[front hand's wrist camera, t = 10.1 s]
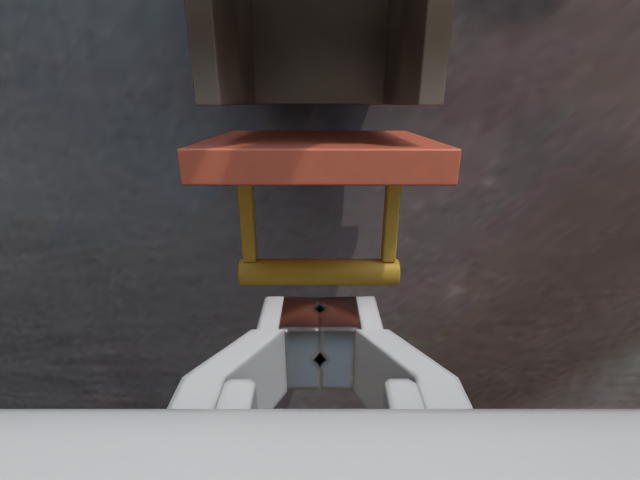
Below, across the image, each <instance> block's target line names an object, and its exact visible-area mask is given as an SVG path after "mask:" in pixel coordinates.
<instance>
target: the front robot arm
mask: <svg viewBox="0 0 640 480" xmlns="http://www.w3.org/2000/svg"><path fill="white" fill-rule="evenodd" d="M305 389H334V390H353V392H354V393H355V395H356V396H357V397H358V398H359V400H360V401H361V402H362V403H363V405H364V406H365V407H366V408H367V409H274V407H275V406H276V405H277V404H278V402H279V401H280V400H281V399H282V397H283V396H284V395H285V394H286V392H287V390H305ZM0 480H640V409H473V407H472V405H471V403H470V401H469V399H468V397H467V395H466V393H465V391H464V389H463V386H462V384H461V382H460V380H459V378H458V377H457V376H455V375H454V374H452V373H451V372H449V371H448V370H447V369H445V368H444V367H442V366H441V365H439V364H438V363H436V362H435V361H434V360H432V359H431V358H429V357H428V356H426V355H425V354H423V353H422V352H421V351H419V350H418V349H416V348H415V347H413V346H412V345H410V344H409V343H408V342H406V341H405V340H403V339H402V338H400V337H399V336H397V335H396V334H395V333H393V332H392V331H390V330H389V329H383V326H382V322H381V318H380V315H379V311H378V307H377V304H376V300H375V297H374V296H362V297H284V296H267V297H266V298H265V300H264V303H263V307H262V311H261V314H260V318H259V322H258V326H257V329H251V330H250V331H248V332H247V333H245V334H244V335H243V336H241V337H240V338H238V339H237V340H235V341H234V342H232V343H231V344H230V345H228V346H227V347H225V348H224V349H222V350H221V351H219V352H218V353H216V354H215V355H214V356H212V357H211V358H209V359H208V360H206V361H205V362H203V363H202V364H200V365H199V366H198V367H196V368H195V369H193V370H192V371H190V372H189V373H187V374H186V375H185V376H183V377H182V379H181V381H180V383H179V385H178V387H177V389H176V391H175V393H174V395H173V397H172V399H171V401H170V403H169V405H168V407H167V409H0Z"/></svg>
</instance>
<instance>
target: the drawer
mask: <svg viewBox="0 0 640 480" xmlns="http://www.w3.org/2000/svg"><path fill="white" fill-rule="evenodd" d="M184 2H185V11H186V20H187V30H188V39H189V48H190V57H191V67H192V76H193V85H194V95H195V104H196V105H210V106H220V105H249V104H382V105H410V106H442V105H443V102H444V93H445V84H446V75H447V66H448V57H449V47H450V38H451V29H452V20H453V11H454V2H455V0H184ZM177 154H178V161H179V169H180V177H181V183H182V185H237V190H238V203H239V216H240V229H241V242H242V255H243V259H241V260H240V262H239V266H238V280H239V284H240V285H398V284H399V282H400V264H399V261H398V259H396V248H397V235H398V223H399V210H400V197H401V185H457V182H458V174H459V167H460V159H461V149H459V148H456V147H453V146H450V145H447V144H444V143H441V142H438V141H435V140H432V139H429V138H426V137H423V136H420V135H417V134H414V133H411V132H408V131H236V130H233V131H230V132H227V133H224V134H221V135H218V136H215V137H212V138H209V139H206V140H203V141H200V142H197V143H194V144H191V145H188V146H185V147H182V148H179V149H177ZM253 185H385V200H384V215H383V231H382V247H381V258H382V259H257V257H258V256H257V240H256V223H255V207H254V191H253Z"/></svg>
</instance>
